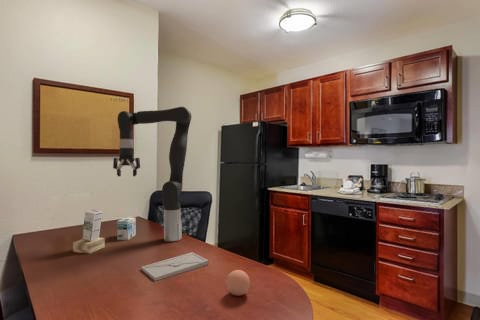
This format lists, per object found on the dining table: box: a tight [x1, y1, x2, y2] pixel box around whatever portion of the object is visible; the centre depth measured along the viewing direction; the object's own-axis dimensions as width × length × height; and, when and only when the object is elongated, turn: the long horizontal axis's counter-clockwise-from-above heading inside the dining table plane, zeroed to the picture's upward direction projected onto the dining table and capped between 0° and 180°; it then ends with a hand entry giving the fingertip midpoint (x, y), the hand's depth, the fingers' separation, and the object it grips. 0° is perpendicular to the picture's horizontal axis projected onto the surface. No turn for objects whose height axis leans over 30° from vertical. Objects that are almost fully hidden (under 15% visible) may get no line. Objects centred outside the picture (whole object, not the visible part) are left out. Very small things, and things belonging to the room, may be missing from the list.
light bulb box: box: [116, 216, 137, 241], centre depth 158 cm, size 11×7×11 cm, turn 179°
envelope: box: [140, 251, 209, 282], centre depth 114 cm, size 24×2×14 cm
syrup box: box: [81, 209, 103, 241], centre depth 138 cm, size 6×6×14 cm
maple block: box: [72, 237, 106, 254], centre depth 138 cm, size 10×10×5 cm
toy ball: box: [225, 269, 251, 297], centre depth 91 cm, size 8×8×8 cm
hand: (126, 176), depth 152 cm, fingers open, 8 cm apart
